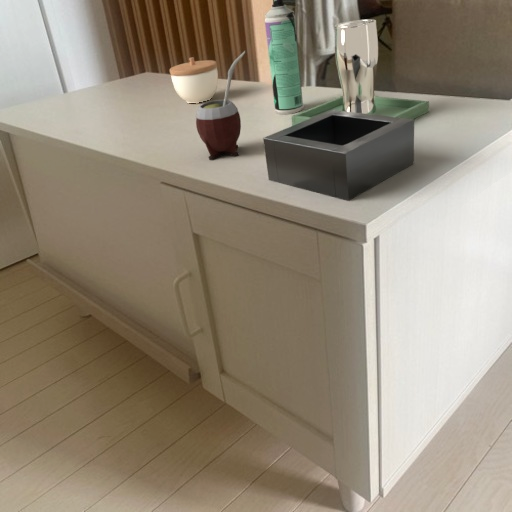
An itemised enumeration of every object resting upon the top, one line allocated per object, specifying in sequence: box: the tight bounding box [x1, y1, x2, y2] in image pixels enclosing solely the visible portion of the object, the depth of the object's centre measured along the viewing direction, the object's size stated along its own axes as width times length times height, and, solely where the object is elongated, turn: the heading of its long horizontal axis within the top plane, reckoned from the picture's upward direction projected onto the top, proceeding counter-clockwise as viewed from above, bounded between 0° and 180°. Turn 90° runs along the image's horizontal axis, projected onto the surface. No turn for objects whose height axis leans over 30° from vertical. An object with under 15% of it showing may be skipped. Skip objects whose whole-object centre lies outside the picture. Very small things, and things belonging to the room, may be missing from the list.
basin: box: [262, 110, 415, 202], centre depth 72 cm, size 14×14×6 cm
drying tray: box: [290, 95, 430, 126], centre depth 94 cm, size 18×16×2 cm
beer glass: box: [334, 18, 379, 115], centre depth 90 cm, size 7×7×15 cm
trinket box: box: [169, 56, 219, 104], centre depth 122 cm, size 11×11×9 cm
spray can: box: [264, 0, 304, 115], centre depth 101 cm, size 6×6×20 cm
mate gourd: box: [195, 50, 246, 161], centre depth 84 cm, size 8×8×15 cm
